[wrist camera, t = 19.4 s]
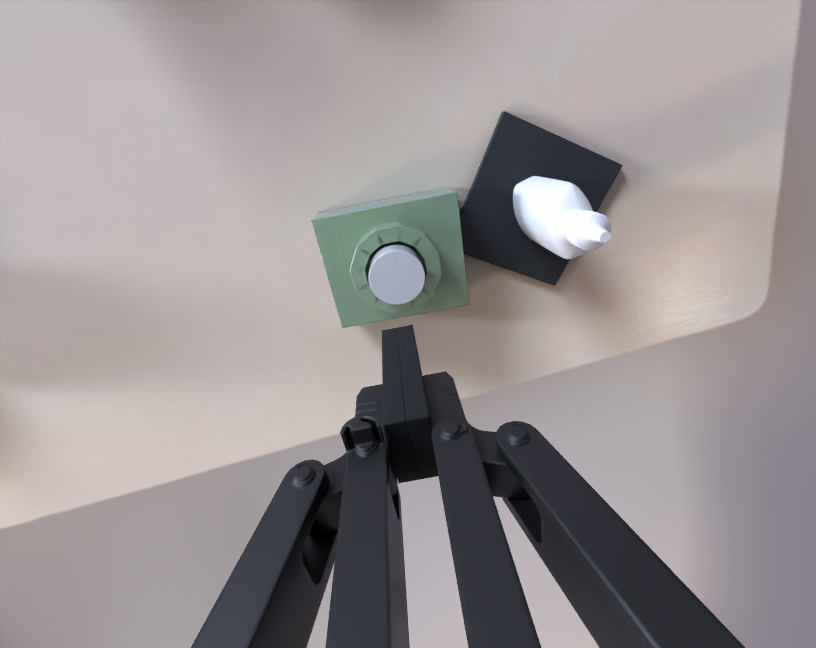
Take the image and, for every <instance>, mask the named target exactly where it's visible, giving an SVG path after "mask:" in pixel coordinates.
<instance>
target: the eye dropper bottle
mask: <svg viewBox="0 0 816 648" xmlns="http://www.w3.org/2000/svg"><path fill="white" fill-rule="evenodd" d="M513 207H514V213H515V216H516V219H517V221H518V224H519V225H520V227H521V229H522V230H523V232H524V233H525V234H526V235H527V236H528V237H529V238H530V239H531V240H533V241H535V242H536V243H538V244H540V245H541V246H543V247H545V248H546V249H548V250H550V251H551V252H553V253H555V254H556V255H558V256H560V257H562V258H565V259H572V258H575V257H577V256H580V255H582V254H584V253H585V252H587V251H588V250H594V249H596V248H598V247H600V246H602V245H603V244H604V243H606V242H608V241H609V240H610V238H611V234H610V232H611V223H610V221H609V219H608V218H607V217H606V216H605V215H603V214H600V213H597V212H593V210H592V207H591V205H590V203H589V201H588V199H587V198H586V196H585V195H584V194H583V192H582V191H581V190H580V189H579V188H578V187H577V186H576V185H574V184H572V183H570V182H566V181H561V180H556V179H551V178H545V177H539V176H532V177H530V178H528V179H526V180H524V181H522V182H520V183H518V184H517V185H516V186H515V188H514V191H513Z"/></svg>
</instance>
